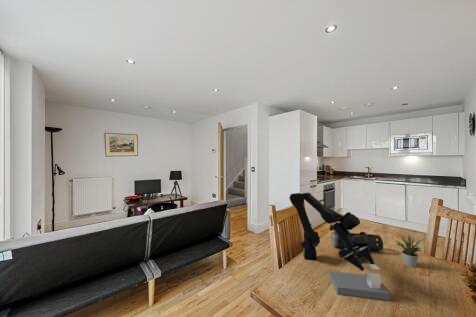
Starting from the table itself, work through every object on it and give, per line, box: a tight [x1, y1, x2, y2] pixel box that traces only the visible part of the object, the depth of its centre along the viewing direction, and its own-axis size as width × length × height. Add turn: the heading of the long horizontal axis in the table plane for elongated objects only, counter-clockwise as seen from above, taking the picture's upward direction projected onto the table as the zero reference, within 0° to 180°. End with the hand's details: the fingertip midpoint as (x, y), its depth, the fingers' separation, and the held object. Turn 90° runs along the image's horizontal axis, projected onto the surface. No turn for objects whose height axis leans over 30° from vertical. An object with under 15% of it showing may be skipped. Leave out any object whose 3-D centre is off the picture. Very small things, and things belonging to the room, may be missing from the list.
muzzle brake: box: [330, 231, 384, 252], centre depth 122 cm, size 10×28×10 cm, turn 78°
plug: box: [366, 263, 382, 289], centre depth 82 cm, size 4×4×11 cm
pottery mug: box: [353, 250, 369, 265], centre depth 107 cm, size 12×10×8 cm
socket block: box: [328, 270, 390, 301], centre depth 85 cm, size 20×12×3 cm, turn 79°
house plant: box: [392, 234, 426, 268], centre depth 104 cm, size 14×14×16 cm
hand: (368, 267), depth 83 cm, fingers open, 9 cm apart
